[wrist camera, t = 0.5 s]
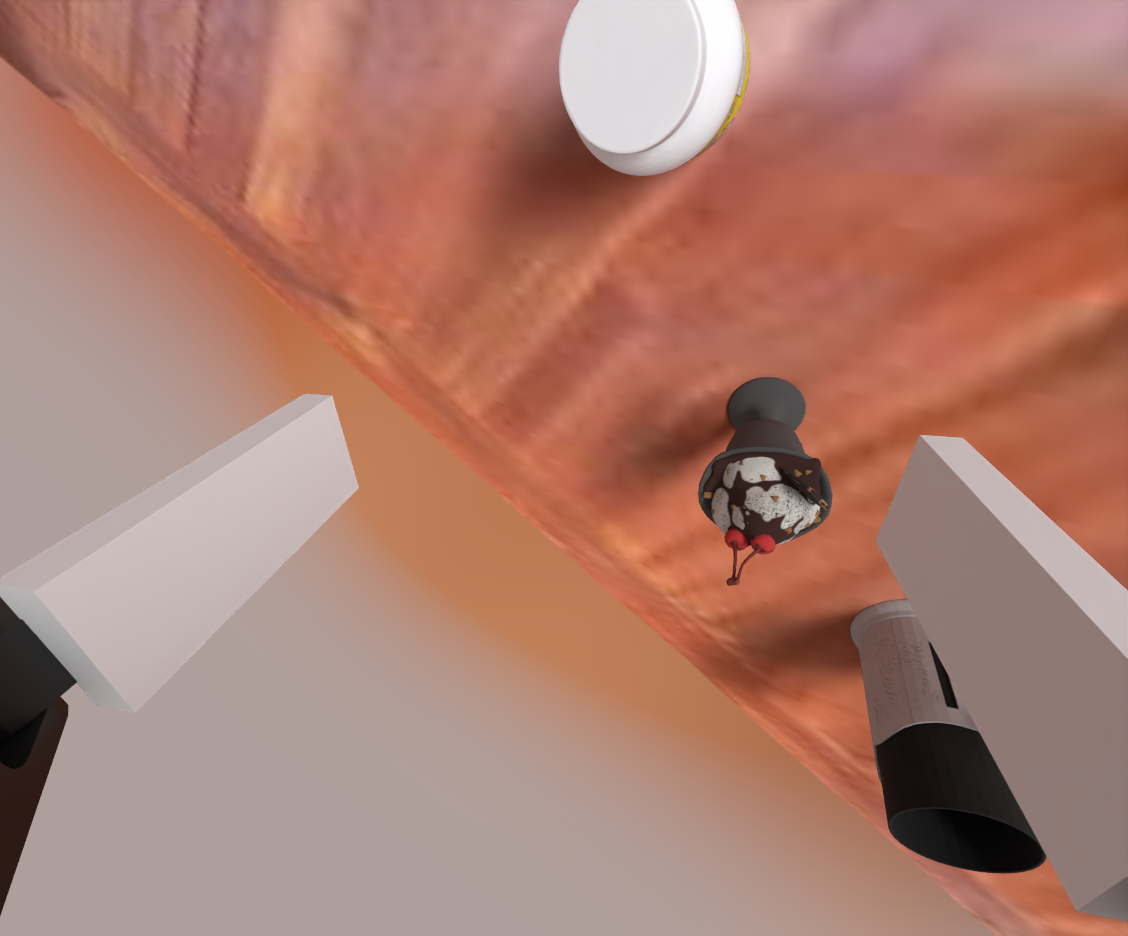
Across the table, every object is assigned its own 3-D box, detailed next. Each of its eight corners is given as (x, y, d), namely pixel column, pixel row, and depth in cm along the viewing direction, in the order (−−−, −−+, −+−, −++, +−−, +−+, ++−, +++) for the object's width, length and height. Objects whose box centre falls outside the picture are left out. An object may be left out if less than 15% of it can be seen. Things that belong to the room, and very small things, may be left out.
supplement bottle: (630, 172, 28) (552, 205, 18) (611, 23, 25) (504, -32, 15) (753, 142, 25) (738, 163, 16) (751, -29, 22) (731, -138, 12)
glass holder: (828, 637, 44) (846, 823, 32) (950, 540, 34) (1035, 753, 23) (923, 681, 43) (975, 888, 31) (1074, 594, 33) (1225, 842, 22)
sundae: (714, 448, 36) (686, 601, 25) (717, 365, 33) (685, 500, 21) (811, 454, 34) (828, 625, 23) (826, 365, 30) (854, 516, 19)
